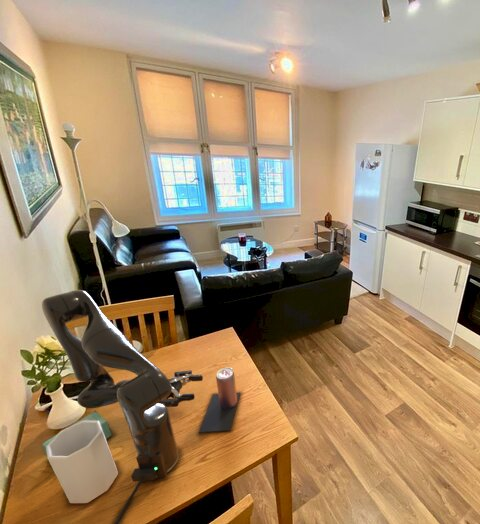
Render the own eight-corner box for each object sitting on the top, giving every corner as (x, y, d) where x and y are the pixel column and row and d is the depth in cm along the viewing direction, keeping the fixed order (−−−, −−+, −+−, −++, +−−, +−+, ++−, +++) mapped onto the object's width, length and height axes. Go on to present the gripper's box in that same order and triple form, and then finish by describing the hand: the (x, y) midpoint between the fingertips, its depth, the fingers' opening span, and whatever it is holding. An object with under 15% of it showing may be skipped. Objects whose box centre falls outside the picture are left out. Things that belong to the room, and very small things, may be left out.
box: (47, 460, 86) (39, 443, 83) (101, 425, 97) (95, 409, 94) (59, 473, 83) (51, 456, 80) (113, 435, 94) (107, 419, 91)
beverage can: (231, 411, 105) (227, 380, 99) (216, 408, 106) (212, 377, 100) (240, 398, 110) (237, 368, 104) (226, 395, 111) (222, 365, 105)
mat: (230, 430, 99) (230, 429, 98) (199, 433, 97) (199, 432, 97) (240, 393, 113) (240, 392, 113) (213, 395, 112) (213, 394, 111)
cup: (113, 494, 79) (95, 449, 72) (60, 513, 74) (35, 467, 67) (122, 456, 88) (107, 413, 81) (75, 471, 84) (55, 427, 77)
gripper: (136, 398, 93) (189, 395, 95) (157, 366, 106) (203, 364, 108) (140, 414, 96) (192, 411, 98) (160, 381, 109) (206, 379, 111)
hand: (198, 386), depth 103 cm, fingers open, 8 cm apart
